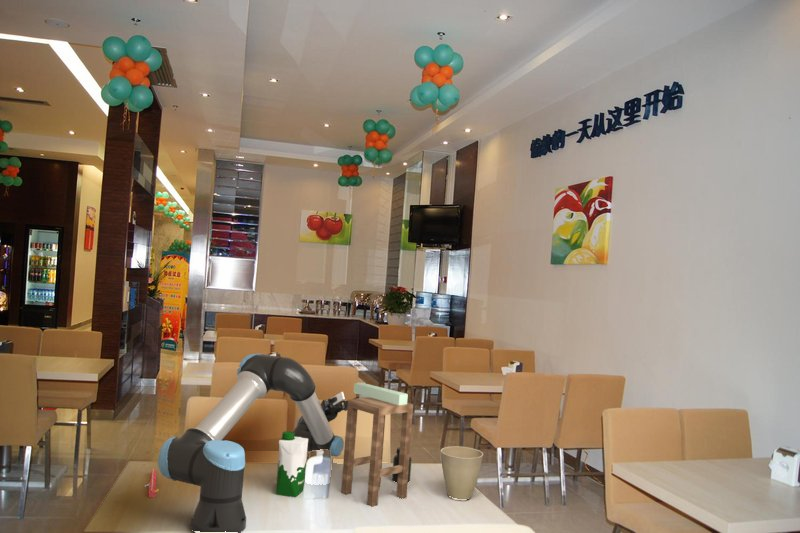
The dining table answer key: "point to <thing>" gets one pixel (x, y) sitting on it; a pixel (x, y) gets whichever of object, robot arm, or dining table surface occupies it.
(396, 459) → the supplement bottle
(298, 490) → the milk carton
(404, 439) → the walnut stool
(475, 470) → the plant pot
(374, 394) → the green block
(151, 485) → the red long bar
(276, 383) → the robot arm
